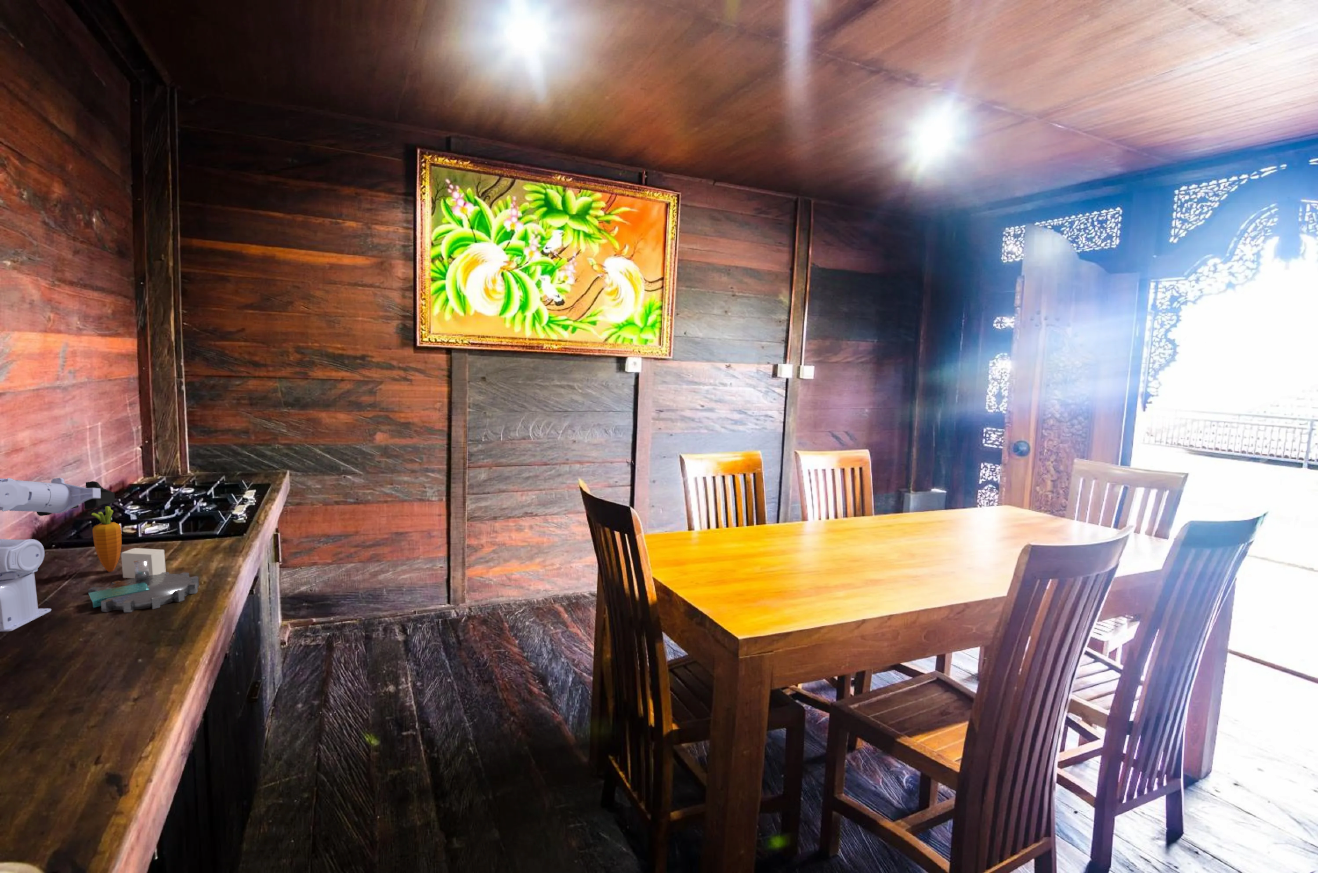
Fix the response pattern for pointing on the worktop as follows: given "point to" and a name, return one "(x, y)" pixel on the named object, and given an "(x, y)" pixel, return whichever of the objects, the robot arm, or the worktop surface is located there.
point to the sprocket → (144, 590)
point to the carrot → (107, 540)
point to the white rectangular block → (153, 555)
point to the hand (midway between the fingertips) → (94, 500)
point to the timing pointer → (93, 589)
